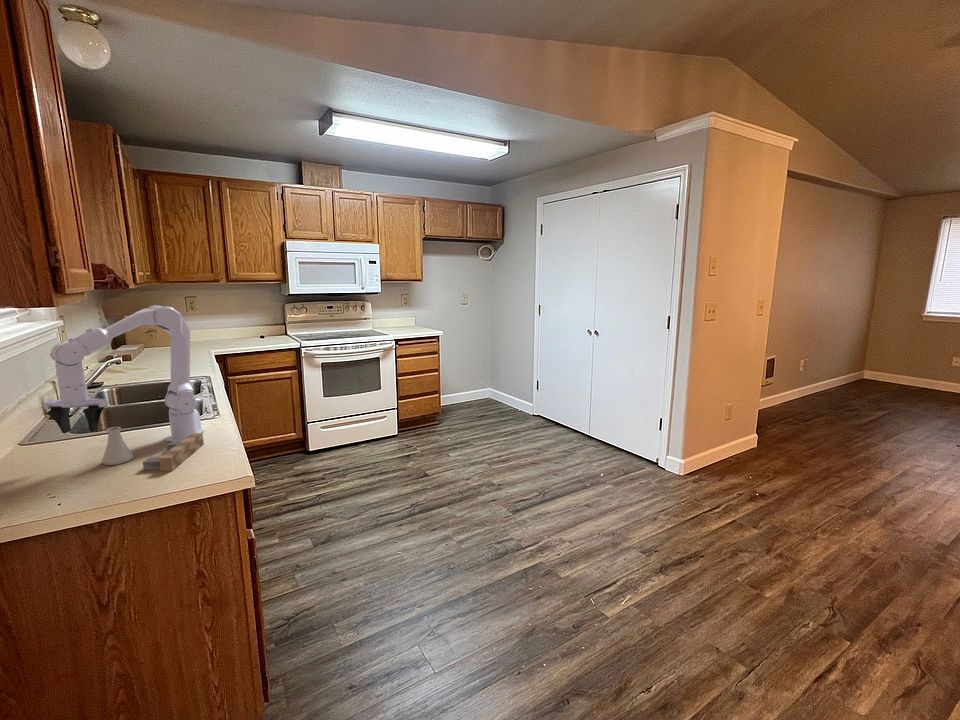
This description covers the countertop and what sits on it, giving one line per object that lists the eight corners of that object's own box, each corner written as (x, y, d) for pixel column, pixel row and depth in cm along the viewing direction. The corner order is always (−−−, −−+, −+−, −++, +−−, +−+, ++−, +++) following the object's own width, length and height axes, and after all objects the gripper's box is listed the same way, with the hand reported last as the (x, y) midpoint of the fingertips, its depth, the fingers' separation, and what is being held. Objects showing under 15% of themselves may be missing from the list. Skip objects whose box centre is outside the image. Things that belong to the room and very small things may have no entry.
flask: (140, 457, 133) (135, 425, 131) (114, 467, 126) (109, 433, 124) (121, 454, 135) (117, 423, 133) (96, 464, 128) (90, 431, 126)
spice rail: (176, 445, 142) (174, 433, 141) (203, 444, 143) (202, 432, 142) (140, 472, 123) (138, 459, 122) (172, 471, 124) (170, 457, 123)
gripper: (31, 389, 120) (40, 437, 122) (92, 388, 122) (99, 435, 125) (51, 383, 126) (59, 429, 129) (108, 382, 129) (115, 426, 131)
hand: (80, 431), depth 127 cm, fingers open, 6 cm apart
